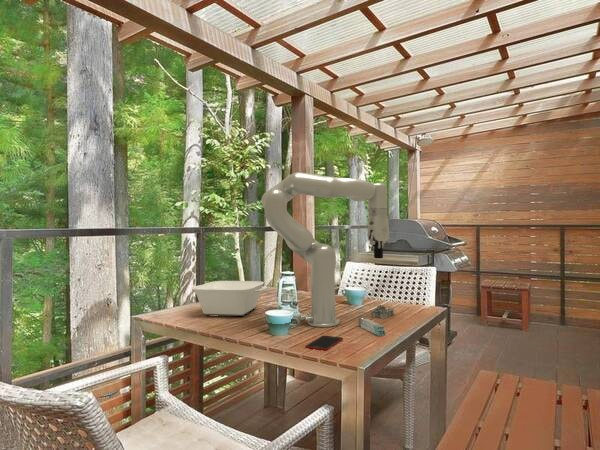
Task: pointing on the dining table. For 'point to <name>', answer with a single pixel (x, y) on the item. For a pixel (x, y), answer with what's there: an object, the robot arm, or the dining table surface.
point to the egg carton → (382, 312)
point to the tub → (229, 297)
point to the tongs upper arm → (373, 325)
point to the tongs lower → (378, 333)
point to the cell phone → (324, 343)
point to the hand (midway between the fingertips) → (378, 258)
